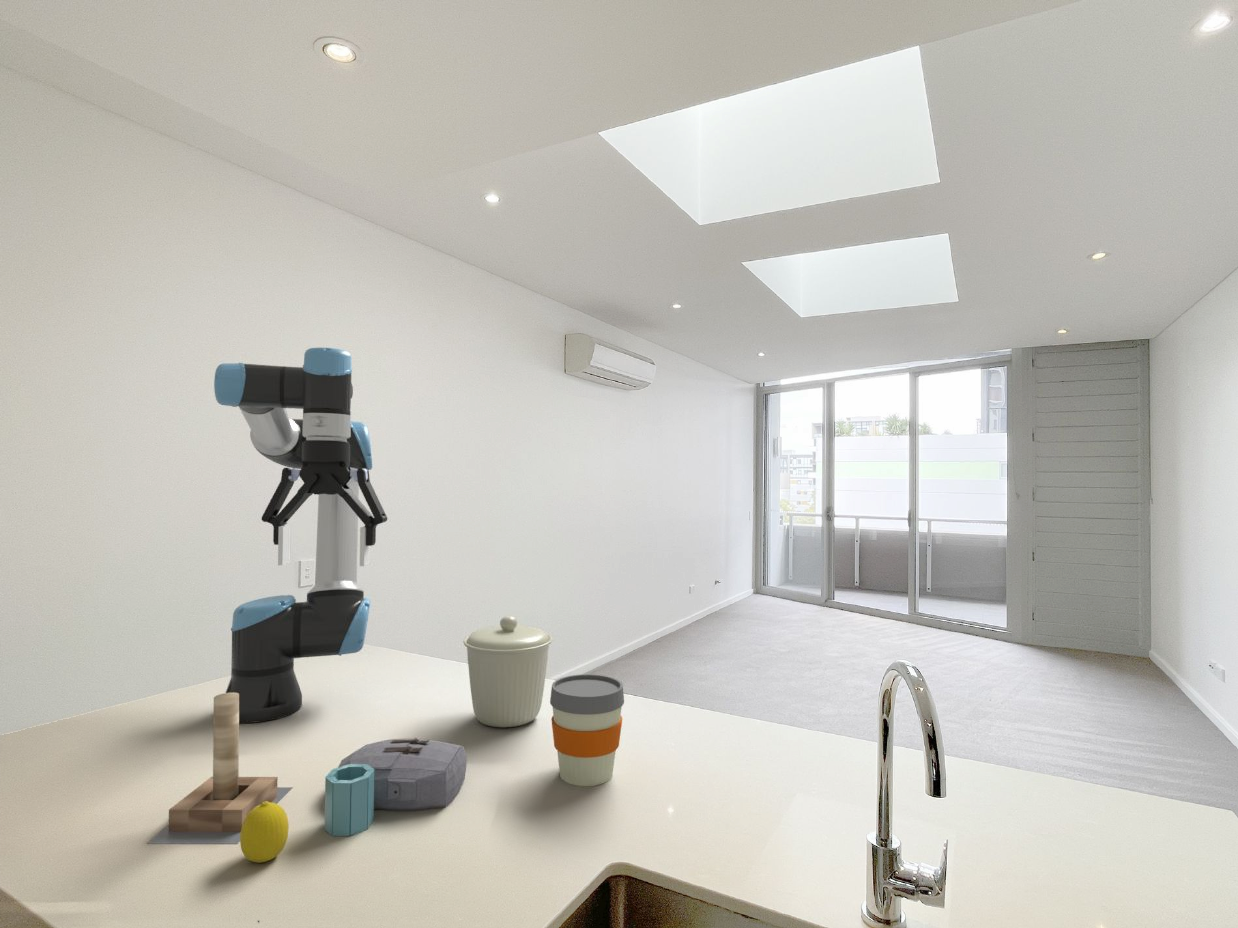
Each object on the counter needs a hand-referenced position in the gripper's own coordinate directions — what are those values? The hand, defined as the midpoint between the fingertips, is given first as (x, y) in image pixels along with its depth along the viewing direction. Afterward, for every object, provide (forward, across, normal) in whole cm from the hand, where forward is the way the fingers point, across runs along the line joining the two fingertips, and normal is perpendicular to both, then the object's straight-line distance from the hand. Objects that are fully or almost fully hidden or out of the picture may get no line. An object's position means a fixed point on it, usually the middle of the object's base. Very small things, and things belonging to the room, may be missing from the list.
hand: (324, 564), depth 114 cm
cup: (+35, +12, -19) cm, 41 cm away
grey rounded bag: (+35, +16, -8) cm, 39 cm away
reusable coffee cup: (+35, +45, -1) cm, 57 cm away
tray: (+35, -7, -16) cm, 39 cm away
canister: (+35, +28, +24) cm, 51 cm away
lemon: (+35, +4, -27) cm, 44 cm away
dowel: (+34, -7, -16) cm, 38 cm away
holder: (+34, -7, -16) cm, 38 cm away
